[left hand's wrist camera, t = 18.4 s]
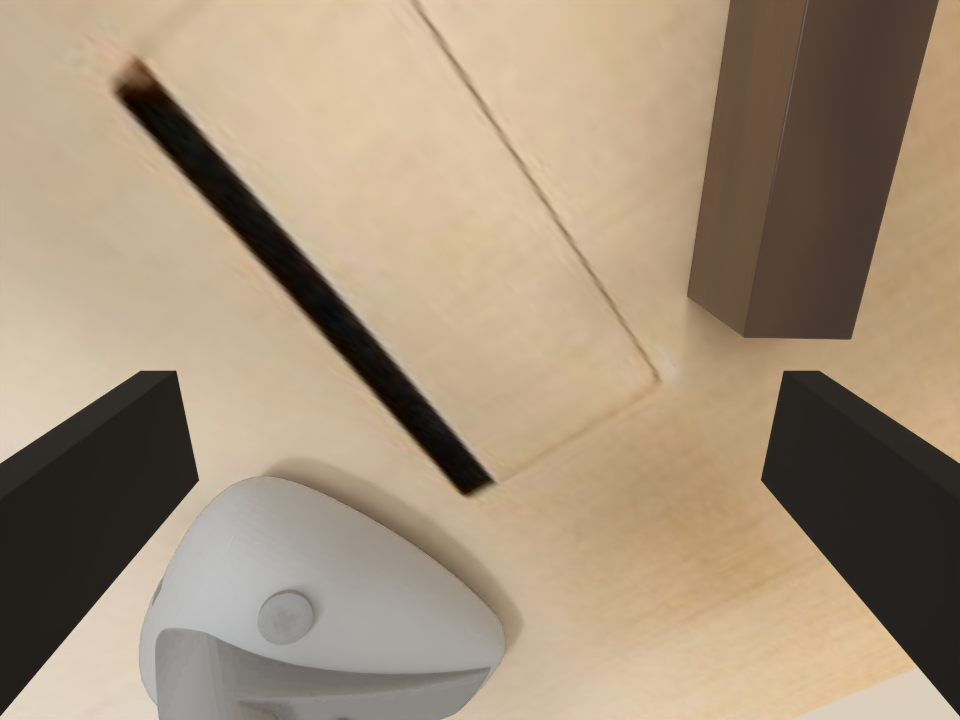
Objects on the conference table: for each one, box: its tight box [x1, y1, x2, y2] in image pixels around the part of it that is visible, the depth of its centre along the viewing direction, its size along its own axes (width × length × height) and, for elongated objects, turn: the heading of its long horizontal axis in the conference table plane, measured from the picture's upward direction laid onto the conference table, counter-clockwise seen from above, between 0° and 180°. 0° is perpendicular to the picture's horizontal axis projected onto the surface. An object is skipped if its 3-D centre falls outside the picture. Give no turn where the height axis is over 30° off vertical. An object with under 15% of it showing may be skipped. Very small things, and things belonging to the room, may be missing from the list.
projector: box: [139, 476, 505, 720], centre depth 34 cm, size 22×23×15 cm
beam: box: [688, 0, 939, 340], centre depth 25 cm, size 5×26×8 cm, turn 179°
